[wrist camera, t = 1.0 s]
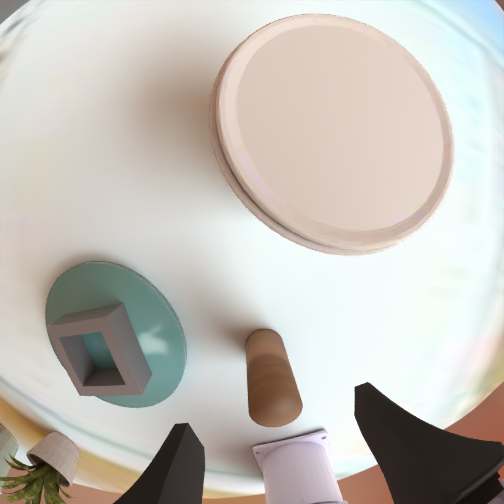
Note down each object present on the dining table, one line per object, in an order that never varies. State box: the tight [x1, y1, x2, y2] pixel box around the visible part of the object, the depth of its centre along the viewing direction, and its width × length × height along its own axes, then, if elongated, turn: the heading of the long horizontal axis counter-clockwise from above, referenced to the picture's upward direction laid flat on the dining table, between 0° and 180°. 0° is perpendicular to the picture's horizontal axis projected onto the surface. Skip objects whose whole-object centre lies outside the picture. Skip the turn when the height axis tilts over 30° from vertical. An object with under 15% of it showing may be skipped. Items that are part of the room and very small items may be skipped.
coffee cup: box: [209, 14, 454, 256], centre depth 13 cm, size 9×9×12 cm
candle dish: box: [46, 261, 186, 408], centre depth 19 cm, size 14×14×4 cm
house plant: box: [0, 431, 80, 504], centre depth 15 cm, size 14×14×16 cm
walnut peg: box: [246, 329, 303, 427], centre depth 17 cm, size 3×3×8 cm
